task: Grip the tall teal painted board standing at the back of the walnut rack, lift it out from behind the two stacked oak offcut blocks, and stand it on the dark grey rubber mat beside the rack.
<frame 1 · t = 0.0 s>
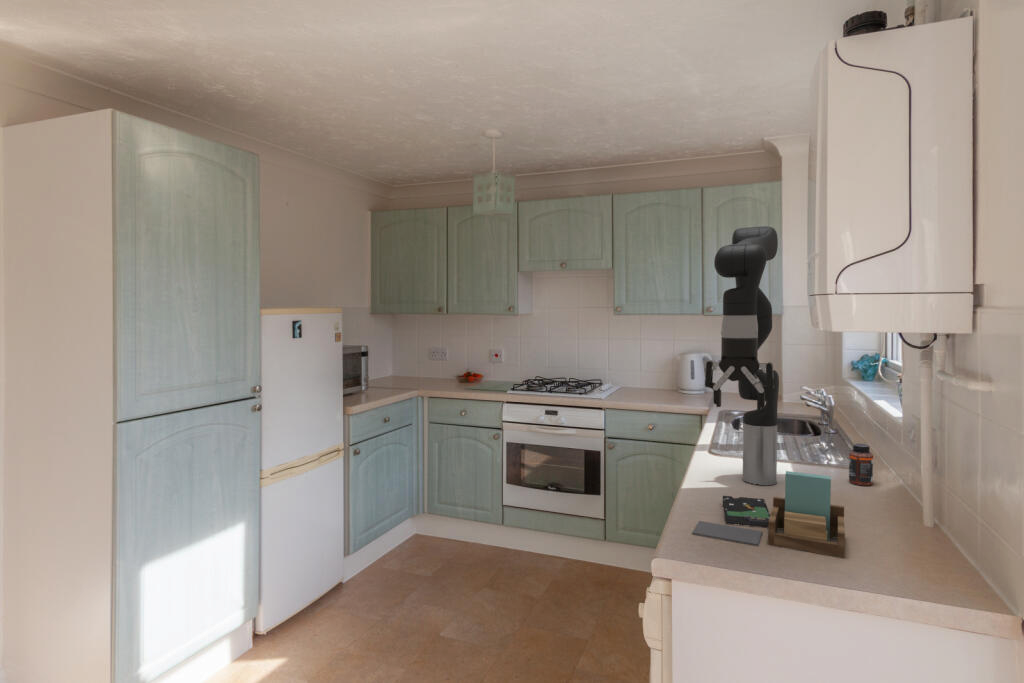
hand: (738, 407, 128), 29 cm above the table, tool pointing down, fingers open, 8 cm apart
oak block lower: (806, 545, 125), resting in rack, touching oak block upper
oak block upper: (804, 531, 125), point 3 cm above the table, touching oak block lower
grey mat: (727, 533, 131), on the table
rack: (806, 540, 127), on the table
supplement bottle: (860, 484, 166), on the table
teal board: (806, 535, 129), resting in rack
disk drive: (745, 517, 143), on the table
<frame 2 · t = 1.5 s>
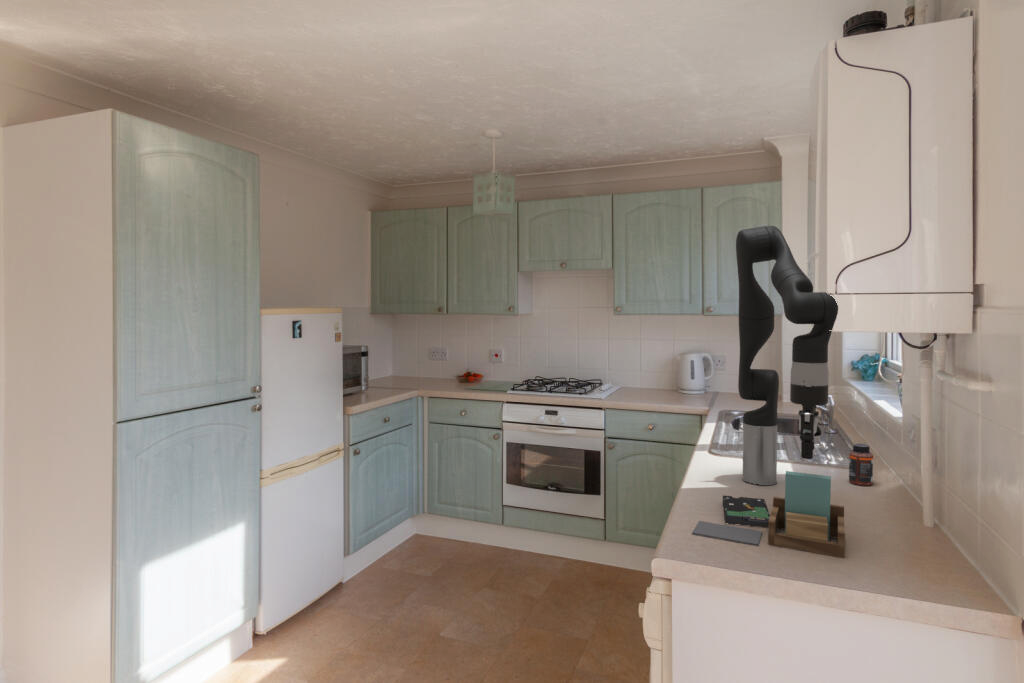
hand: (807, 454, 128), 19 cm above the table, tool pointing down, fingers open, 8 cm apart
oak block lower: (806, 545, 125), resting in rack
oak block upper: (806, 531, 125), point 3 cm above the table
everything else where it was.
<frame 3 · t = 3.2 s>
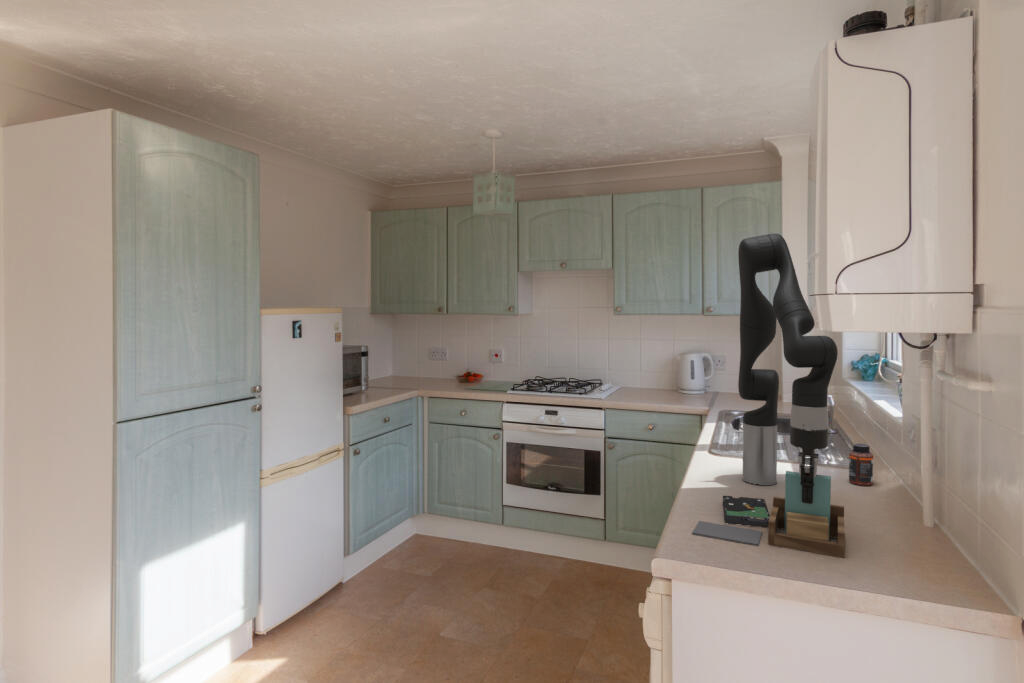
hand: (807, 500, 129), 8 cm above the table, tool pointing down, fingers closed on teal board, 2 cm apart
oak block lower: (806, 545, 125), resting in rack, touching oak block upper
oak block upper: (806, 531, 125), point 3 cm above the table, touching oak block lower
teal board: (806, 535, 129), resting in rack, touching gripper
everything else where it was.
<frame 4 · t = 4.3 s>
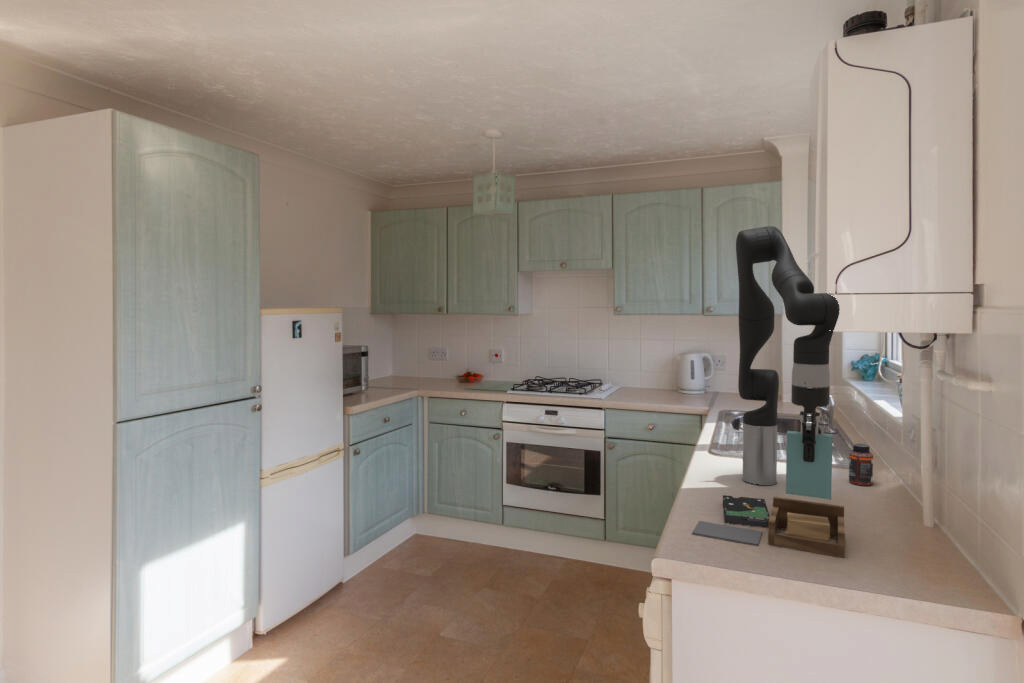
hand: (808, 459, 128), 17 cm above the table, tool pointing down, fingers closed on teal board, 2 cm apart
teal board: (808, 495, 129), point 9 cm above the table, touching gripper
everything else where it was.
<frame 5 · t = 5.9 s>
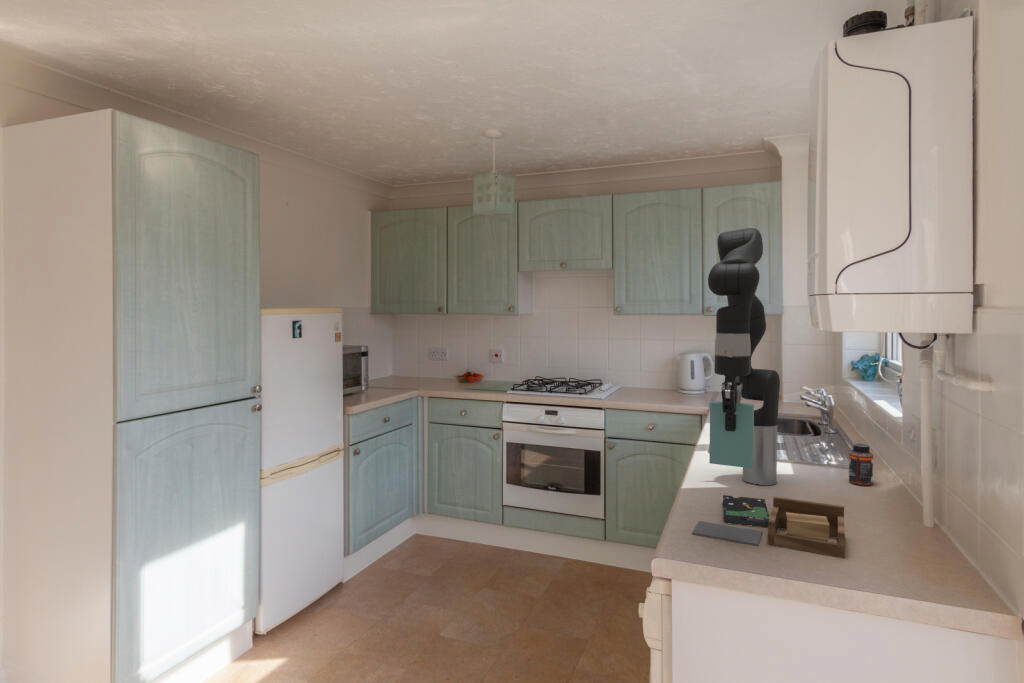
hand: (731, 429, 129), 24 cm above the table, tool pointing down, fingers closed on teal board, 2 cm apart
teal board: (731, 464, 130), point 16 cm above the table, touching gripper
everything else where it was.
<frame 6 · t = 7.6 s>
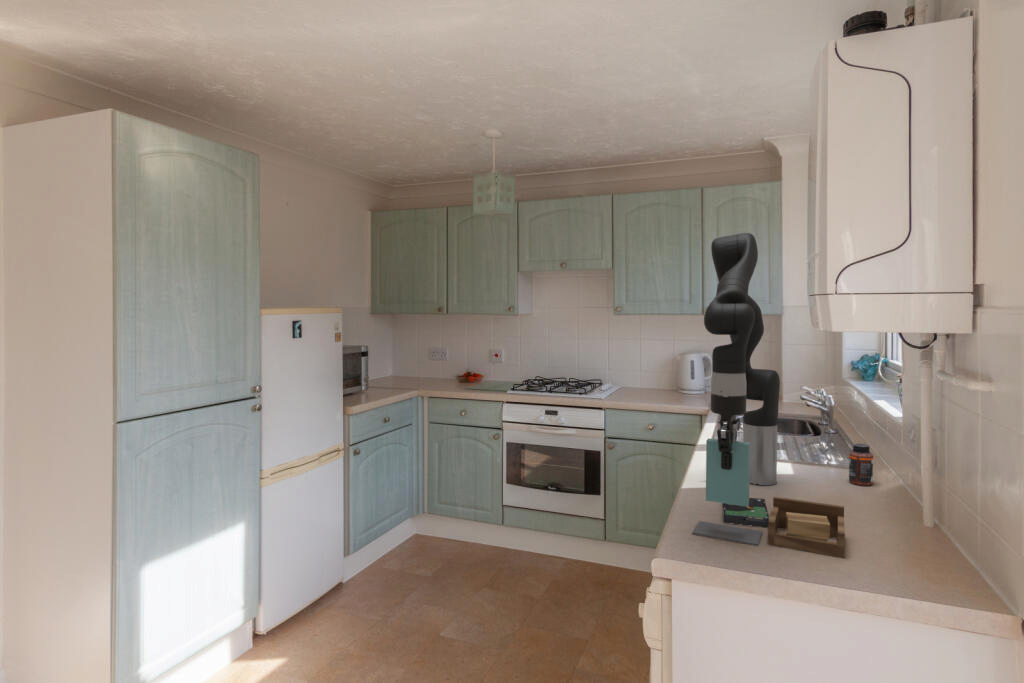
hand: (727, 467, 130), 15 cm above the table, tool pointing down, fingers closed on teal board, 2 cm apart
teal board: (727, 501, 131), point 7 cm above the table, touching gripper
everything else where it was.
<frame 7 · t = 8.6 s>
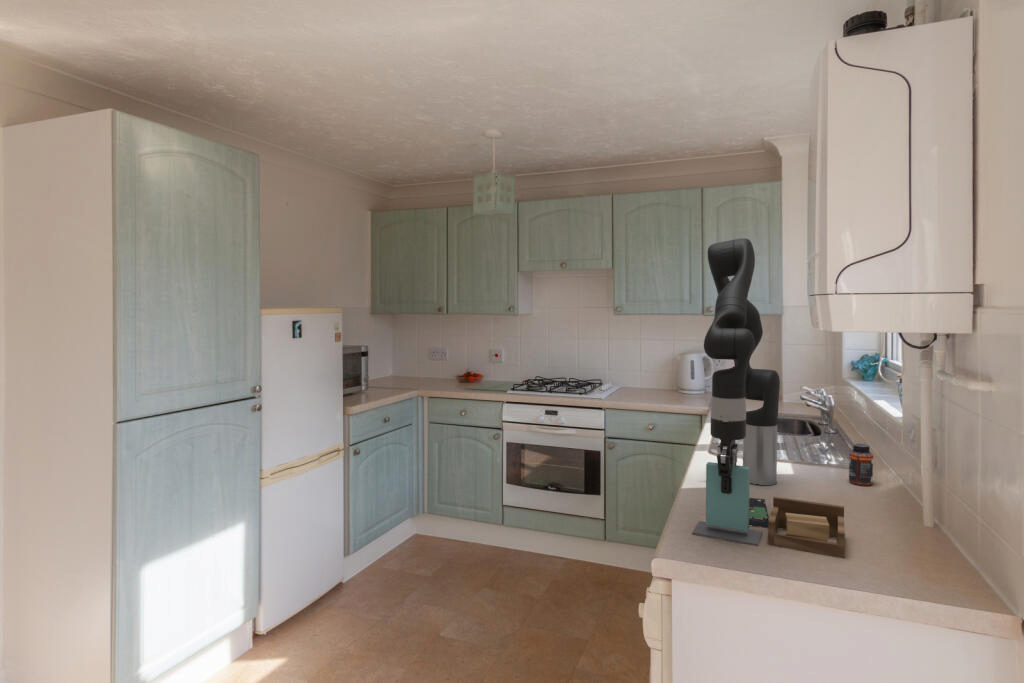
hand: (727, 491, 131), 10 cm above the table, tool pointing down, fingers closed on teal board, 2 cm apart
oak block lower: (806, 545, 125), resting in rack
oak block upper: (806, 532, 125), point 3 cm above the table
teal board: (727, 525, 131), point 2 cm above the table, touching gripper
everything else where it was.
when the fingers open (10 cm above the table, at t = 9.0 s): teal board stays where it is, resting on grey mat.
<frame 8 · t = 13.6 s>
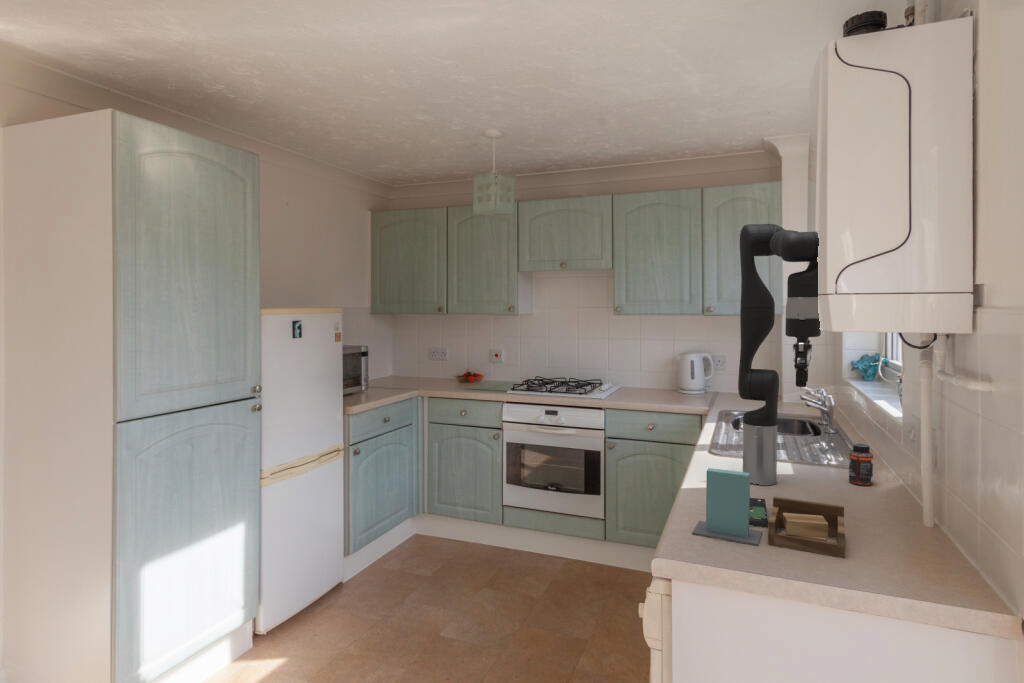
hand: (801, 384, 137), 33 cm above the table, tool pointing down, fingers open, 8 cm apart
oak block lower: (805, 545, 125), resting in rack, touching oak block upper
oak block upper: (804, 531, 125), point 3 cm above the table, touching oak block lower
teal board: (727, 531, 131), resting on grey mat
everything else where it was.
at the end: teal board inside the target area (0.1 cm from its centre), resting on grey mat; the gripper is holding nothing; teal board touching grey mat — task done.
